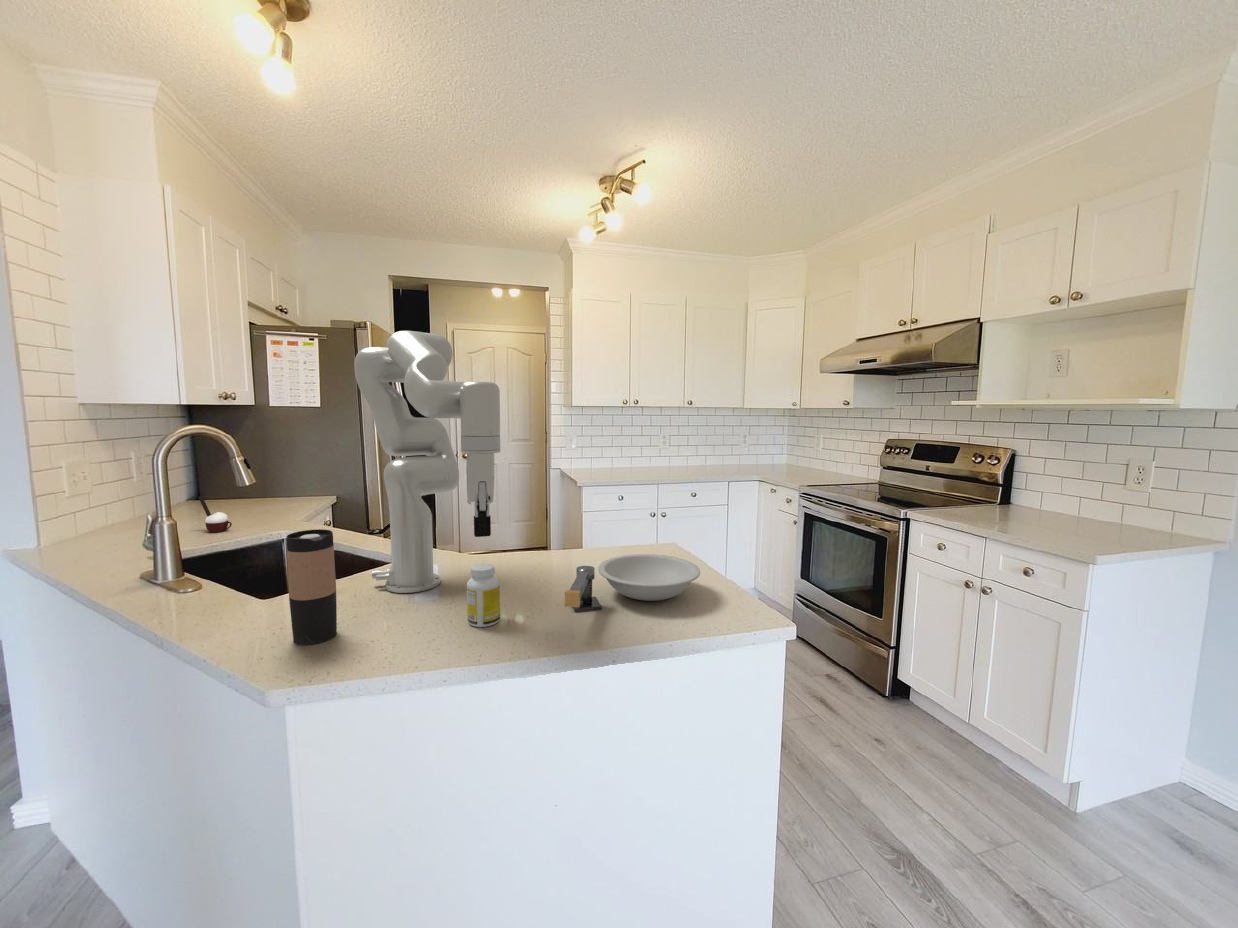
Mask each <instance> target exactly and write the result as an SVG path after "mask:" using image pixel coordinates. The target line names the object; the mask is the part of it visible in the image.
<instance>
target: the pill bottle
mask: <svg viewBox="0 0 1238 928" xmlns="http://www.w3.org/2000/svg"><path fill="white" fill-rule="evenodd" d="M495 567H496V566H495V565H494V564H492V563H478V564H474V565H472V566H471V567H470V575H471V578H469V579H468V581H467V582H466V602H467V603H466V604H467V605H466V606H467V609H466V610H467V622H468V624H469V625H470V626H472V627H474V628H475V627H476V628H486V627H487V628H488V627H491V626H493V625H495V624H497V623H498V622H500V620H501V619H500V618H501V601H500V600H501V599H500V598H501V597H500V596H501V593H500V579H499V578H498V577H497V576H494V574H495V572H496V570H495Z"/></svg>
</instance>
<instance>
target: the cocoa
mask: <svg viewBox="0 0 1238 928" xmlns="http://www.w3.org/2000/svg"><path fill="white" fill-rule="evenodd" d="M198 500H199V502H200V504H201V507H202V508H203V510H204V512H205V515H206V518H205V520H204V524H205V527H206V530H207V532H209V533H212V534H217V533H223V532H226V530H229V529H230V528H231V527H232V526H233V525H232V524H233V523H232V522H231V521H229V519H228V514H226V513H225V512H222V511H221V512H220V511H218V512H214V513H213V514H212V513H211V512H210V510H209V508H208V505H207V503H206V501H205V499H204V497H203V496H199V497H198Z"/></svg>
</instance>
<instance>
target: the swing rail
mask: <svg viewBox="0 0 1238 928" xmlns="http://www.w3.org/2000/svg"><path fill="white" fill-rule="evenodd" d="M595 577H596V576H595V567H594V566H592V565H581V566H580V565H579V566H577V567H576V578H575V579H574V581H573V583H572V584H571V586H570V588H569V589H566V590H565V591H564V607H566V608H567V607H569V608H572V607H580V598H581V596H582V594H583V592H584V590H585V587H586V585H587V583H588V581H591V580H592V581H593V580H595Z"/></svg>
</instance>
